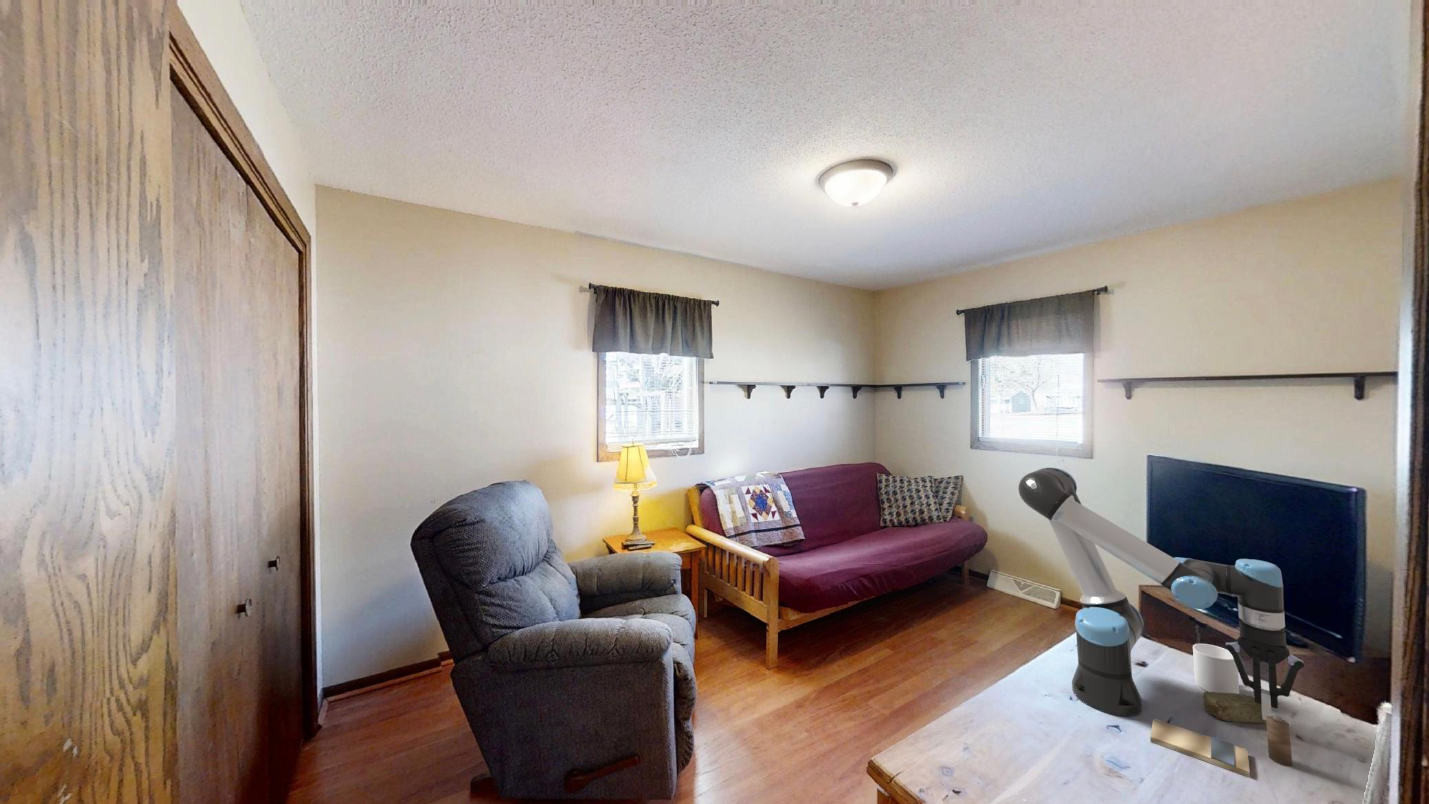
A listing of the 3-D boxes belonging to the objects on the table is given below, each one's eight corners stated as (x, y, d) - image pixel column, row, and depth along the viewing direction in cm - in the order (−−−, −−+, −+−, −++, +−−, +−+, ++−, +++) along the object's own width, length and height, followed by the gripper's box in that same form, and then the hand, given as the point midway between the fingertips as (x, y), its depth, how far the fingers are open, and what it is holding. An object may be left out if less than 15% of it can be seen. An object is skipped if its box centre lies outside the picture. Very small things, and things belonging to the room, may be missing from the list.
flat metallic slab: (1150, 741, 113) (1150, 735, 113) (1160, 681, 136) (1160, 676, 136) (1250, 777, 102) (1249, 770, 102) (1242, 705, 124) (1242, 699, 124)
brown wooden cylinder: (1269, 760, 106) (1266, 717, 106) (1268, 752, 108) (1265, 710, 108) (1293, 768, 103) (1290, 724, 104) (1291, 760, 106) (1288, 717, 106)
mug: (1253, 690, 130) (1250, 652, 130) (1229, 701, 126) (1226, 662, 126) (1211, 674, 138) (1209, 638, 138) (1188, 684, 134) (1186, 647, 134)
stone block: (1272, 725, 117) (1271, 706, 117) (1219, 723, 119) (1218, 703, 119) (1250, 710, 122) (1249, 692, 122) (1200, 708, 124) (1198, 689, 124)
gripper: (1223, 621, 118) (1228, 713, 118) (1305, 638, 108) (1311, 738, 108) (1222, 611, 123) (1227, 699, 123) (1301, 626, 114) (1306, 722, 113)
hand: (1266, 717), depth 116 cm, fingers closed
